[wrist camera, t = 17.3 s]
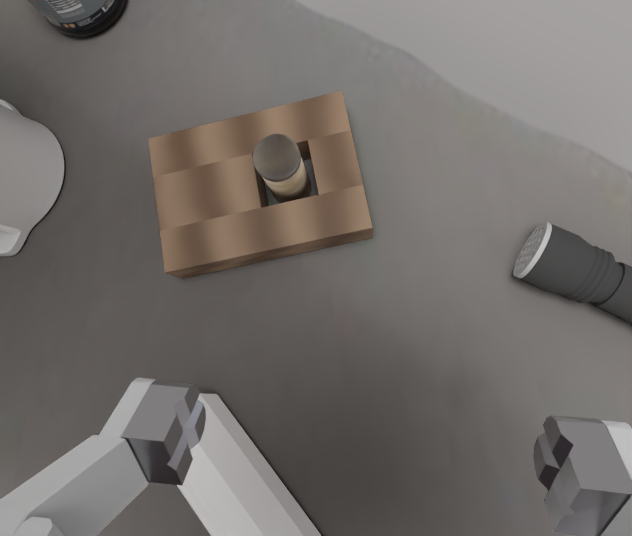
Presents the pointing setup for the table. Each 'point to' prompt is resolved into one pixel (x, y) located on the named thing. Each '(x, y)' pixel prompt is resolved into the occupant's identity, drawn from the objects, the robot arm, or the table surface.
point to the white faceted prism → (238, 483)
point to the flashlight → (575, 270)
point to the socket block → (255, 189)
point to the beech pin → (282, 167)
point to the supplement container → (79, 14)
